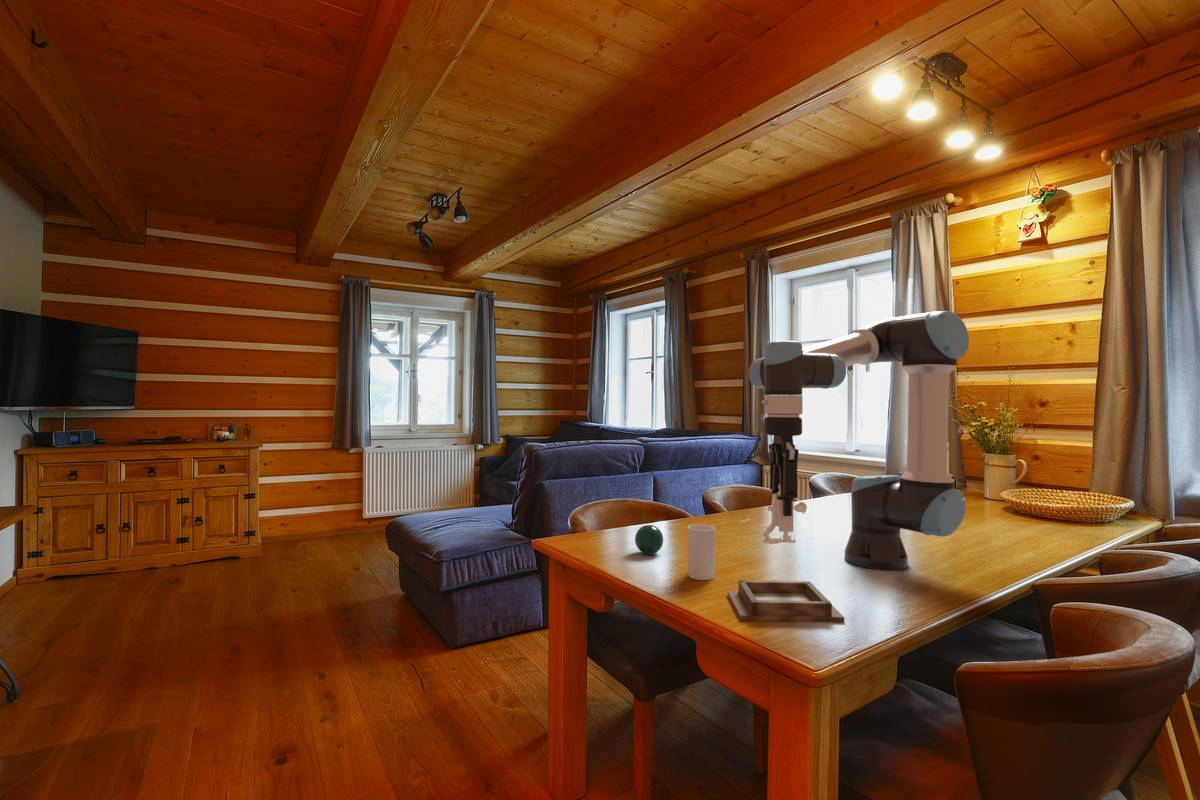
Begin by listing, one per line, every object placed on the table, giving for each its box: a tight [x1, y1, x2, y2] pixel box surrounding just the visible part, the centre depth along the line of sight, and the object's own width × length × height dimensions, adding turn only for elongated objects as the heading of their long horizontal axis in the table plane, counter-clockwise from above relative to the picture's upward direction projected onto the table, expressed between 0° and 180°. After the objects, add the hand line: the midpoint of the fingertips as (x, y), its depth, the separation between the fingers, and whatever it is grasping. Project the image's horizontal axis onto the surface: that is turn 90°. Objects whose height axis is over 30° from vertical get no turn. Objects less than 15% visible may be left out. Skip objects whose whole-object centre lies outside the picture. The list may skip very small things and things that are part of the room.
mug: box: [687, 523, 716, 581], centre depth 140 cm, size 10×7×12 cm, turn 176°
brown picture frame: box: [727, 579, 845, 623], centre depth 118 cm, size 20×14×4 cm
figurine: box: [762, 484, 808, 545], centre depth 118 cm, size 5×9×12 cm, turn 113°
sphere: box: [634, 524, 664, 555], centre depth 159 cm, size 8×8×8 cm
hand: (782, 528), depth 118 cm, fingers closed on figurine, 4 cm apart
